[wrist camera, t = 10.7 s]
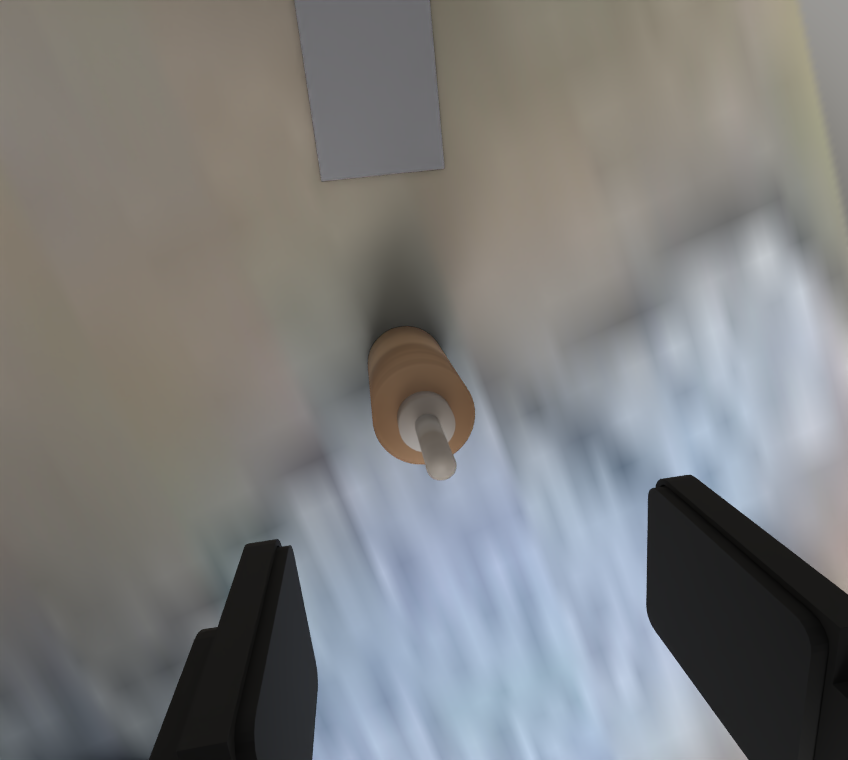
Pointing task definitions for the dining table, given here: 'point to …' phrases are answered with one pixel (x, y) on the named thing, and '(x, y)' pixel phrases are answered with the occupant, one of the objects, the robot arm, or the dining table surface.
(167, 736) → the robot arm
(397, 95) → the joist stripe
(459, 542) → the dining table surface
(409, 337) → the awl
